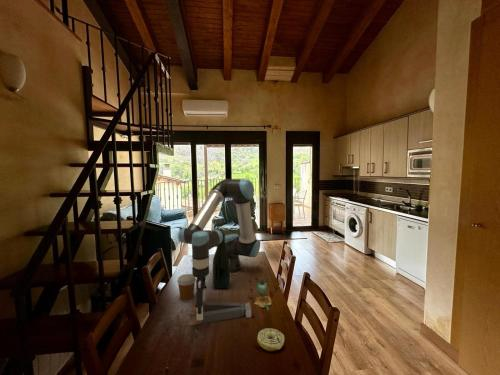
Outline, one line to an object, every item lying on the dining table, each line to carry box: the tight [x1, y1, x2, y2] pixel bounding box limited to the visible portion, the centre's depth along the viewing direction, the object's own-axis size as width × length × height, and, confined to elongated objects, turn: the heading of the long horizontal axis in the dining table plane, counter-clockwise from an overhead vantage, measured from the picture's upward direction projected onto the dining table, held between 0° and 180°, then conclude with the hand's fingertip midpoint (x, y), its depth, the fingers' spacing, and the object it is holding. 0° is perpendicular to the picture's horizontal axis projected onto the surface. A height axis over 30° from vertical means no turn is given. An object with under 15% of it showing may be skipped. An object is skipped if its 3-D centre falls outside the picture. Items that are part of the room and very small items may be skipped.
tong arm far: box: [191, 301, 245, 313], centre depth 116 cm, size 2×25×4 cm, turn 87°
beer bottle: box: [211, 230, 231, 291], centre depth 141 cm, size 10×10×33 cm
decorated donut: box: [256, 327, 285, 352], centre depth 97 cm, size 10×11×4 cm
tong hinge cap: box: [244, 302, 252, 319], centre depth 115 cm, size 7×2×4 cm, turn 6°
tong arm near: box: [188, 306, 246, 326], centre depth 110 cm, size 2×25×4 cm, turn 105°
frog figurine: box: [254, 276, 273, 311], centre depth 126 cm, size 10×18×15 cm, turn 1°
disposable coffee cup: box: [176, 273, 197, 302], centre depth 128 cm, size 10×10×12 cm
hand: (201, 310), depth 112 cm, fingers open, 13 cm apart
